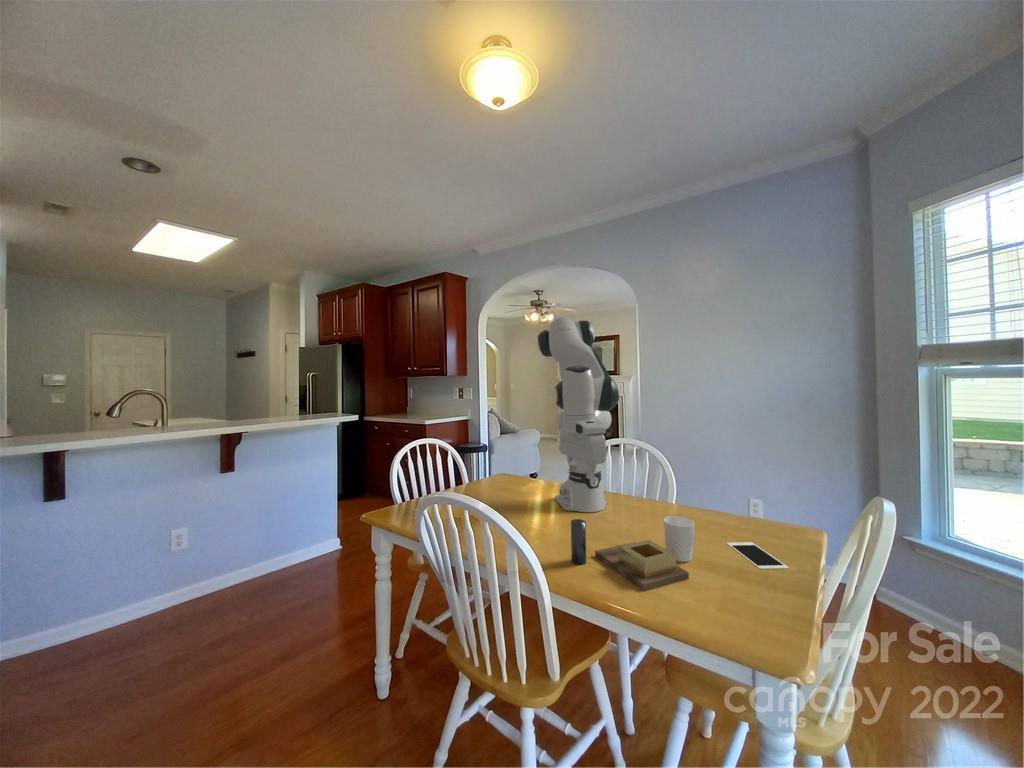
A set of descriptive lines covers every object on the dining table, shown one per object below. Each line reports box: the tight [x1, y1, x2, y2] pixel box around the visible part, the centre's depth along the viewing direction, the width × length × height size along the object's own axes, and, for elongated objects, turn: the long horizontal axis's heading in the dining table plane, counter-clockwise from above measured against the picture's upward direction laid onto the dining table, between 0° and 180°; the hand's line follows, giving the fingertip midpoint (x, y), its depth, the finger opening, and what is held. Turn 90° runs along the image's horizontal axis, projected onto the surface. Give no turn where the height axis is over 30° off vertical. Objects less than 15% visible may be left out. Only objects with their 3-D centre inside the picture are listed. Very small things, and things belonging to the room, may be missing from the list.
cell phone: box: [726, 541, 790, 570], centre depth 110 cm, size 8×16×1 cm, turn 0°
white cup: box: [663, 515, 695, 563], centre depth 110 cm, size 8×8×10 cm
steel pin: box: [570, 519, 587, 566], centre depth 108 cm, size 4×4×11 cm
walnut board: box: [594, 541, 690, 592], centre depth 105 cm, size 20×14×2 cm
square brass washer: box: [618, 539, 677, 579], centre depth 102 cm, size 10×10×4 cm
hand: (581, 474), depth 109 cm, fingers open, 8 cm apart
